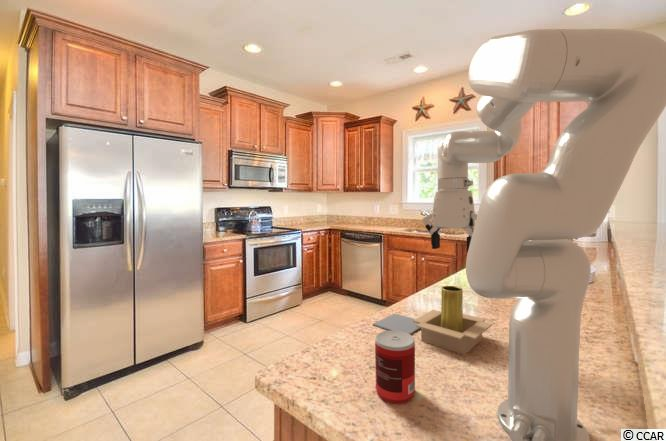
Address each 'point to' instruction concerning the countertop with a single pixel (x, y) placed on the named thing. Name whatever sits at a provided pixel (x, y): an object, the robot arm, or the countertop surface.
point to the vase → (452, 308)
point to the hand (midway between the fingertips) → (452, 250)
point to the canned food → (395, 366)
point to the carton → (451, 332)
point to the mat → (398, 324)
